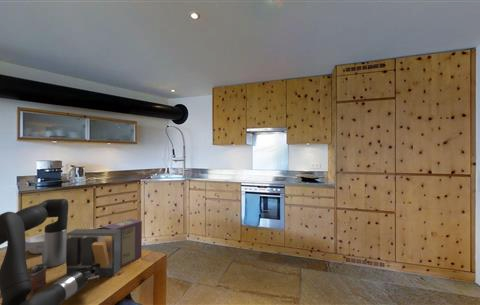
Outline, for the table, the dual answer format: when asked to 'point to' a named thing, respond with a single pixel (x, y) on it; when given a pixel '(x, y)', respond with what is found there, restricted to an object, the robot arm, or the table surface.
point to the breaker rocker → (100, 253)
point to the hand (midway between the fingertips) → (98, 265)
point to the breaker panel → (82, 252)
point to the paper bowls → (35, 244)
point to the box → (129, 239)
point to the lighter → (38, 277)
